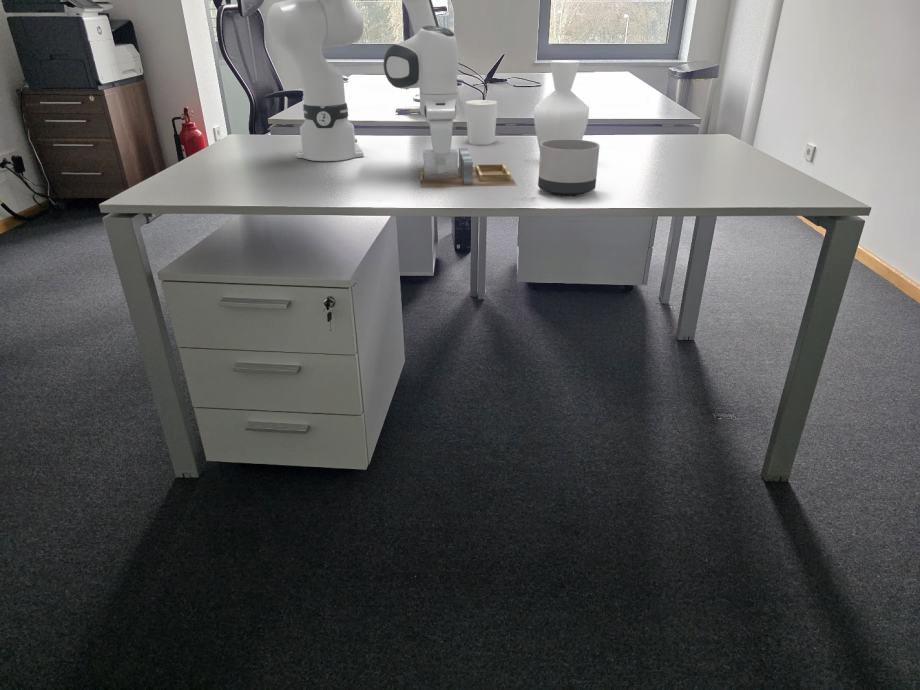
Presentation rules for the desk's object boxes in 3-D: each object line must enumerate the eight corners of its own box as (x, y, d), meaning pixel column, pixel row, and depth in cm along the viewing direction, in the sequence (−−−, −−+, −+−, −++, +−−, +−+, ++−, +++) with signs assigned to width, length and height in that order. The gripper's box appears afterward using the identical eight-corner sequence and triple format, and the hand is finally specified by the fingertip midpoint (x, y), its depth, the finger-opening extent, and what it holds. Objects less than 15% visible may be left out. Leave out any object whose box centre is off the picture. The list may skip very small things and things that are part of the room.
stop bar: (423, 175, 149) (423, 149, 146) (456, 174, 150) (456, 149, 147) (424, 178, 146) (423, 153, 143) (457, 178, 146) (457, 152, 143)
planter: (556, 202, 132) (560, 152, 127) (527, 188, 142) (529, 141, 137) (606, 195, 137) (611, 147, 132) (574, 182, 147) (578, 137, 142)
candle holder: (467, 139, 198) (467, 99, 192) (498, 140, 197) (499, 100, 191) (463, 145, 189) (463, 103, 184) (495, 146, 188) (496, 104, 182)
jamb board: (419, 172, 157) (418, 147, 154) (504, 170, 158) (505, 146, 155) (420, 192, 139) (419, 164, 136) (516, 190, 140) (517, 162, 138)
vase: (534, 155, 175) (539, 59, 163) (584, 157, 173) (593, 59, 161) (529, 166, 163) (534, 63, 151) (583, 168, 160) (592, 63, 149)
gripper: (424, 100, 149) (426, 158, 156) (426, 112, 131) (428, 177, 138) (450, 100, 149) (451, 158, 156) (456, 112, 131) (456, 177, 138)
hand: (440, 167), depth 147 cm, fingers open, 8 cm apart
